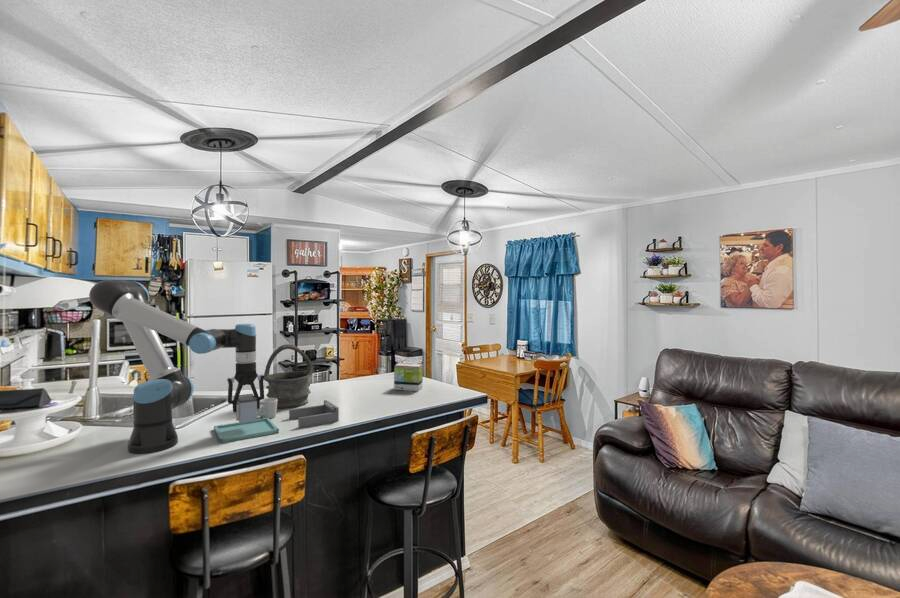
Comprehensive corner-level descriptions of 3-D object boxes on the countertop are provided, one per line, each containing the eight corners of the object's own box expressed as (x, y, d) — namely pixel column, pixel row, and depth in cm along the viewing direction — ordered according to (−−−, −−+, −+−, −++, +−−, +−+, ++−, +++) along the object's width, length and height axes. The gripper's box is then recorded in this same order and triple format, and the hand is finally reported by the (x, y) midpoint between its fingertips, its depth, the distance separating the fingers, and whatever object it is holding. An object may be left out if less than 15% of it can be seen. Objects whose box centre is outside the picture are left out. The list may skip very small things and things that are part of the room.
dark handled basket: (273, 398, 227) (273, 342, 227) (317, 398, 228) (317, 342, 228) (256, 409, 205) (256, 347, 205) (305, 409, 206) (305, 347, 206)
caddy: (240, 423, 167) (240, 400, 167) (236, 417, 176) (235, 395, 176) (257, 420, 171) (256, 398, 171) (252, 414, 179) (251, 393, 179)
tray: (220, 443, 160) (220, 439, 160) (214, 429, 175) (214, 426, 175) (278, 432, 172) (278, 429, 172) (268, 421, 187) (268, 417, 187)
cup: (266, 422, 185) (266, 404, 185) (250, 421, 187) (250, 403, 187) (281, 415, 196) (281, 398, 196) (265, 414, 197) (265, 397, 197)
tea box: (393, 390, 247) (393, 365, 246) (398, 386, 256) (398, 362, 256) (418, 391, 244) (419, 365, 244) (422, 387, 254) (423, 363, 254)
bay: (299, 428, 178) (299, 413, 178) (289, 418, 191) (289, 405, 191) (338, 421, 188) (338, 407, 188) (326, 412, 201) (326, 400, 200)
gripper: (220, 365, 164) (221, 425, 165) (272, 360, 175) (273, 416, 176) (218, 362, 170) (218, 420, 171) (268, 358, 181) (269, 412, 182)
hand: (246, 418), depth 173 cm, fingers closed on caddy, 6 cm apart
